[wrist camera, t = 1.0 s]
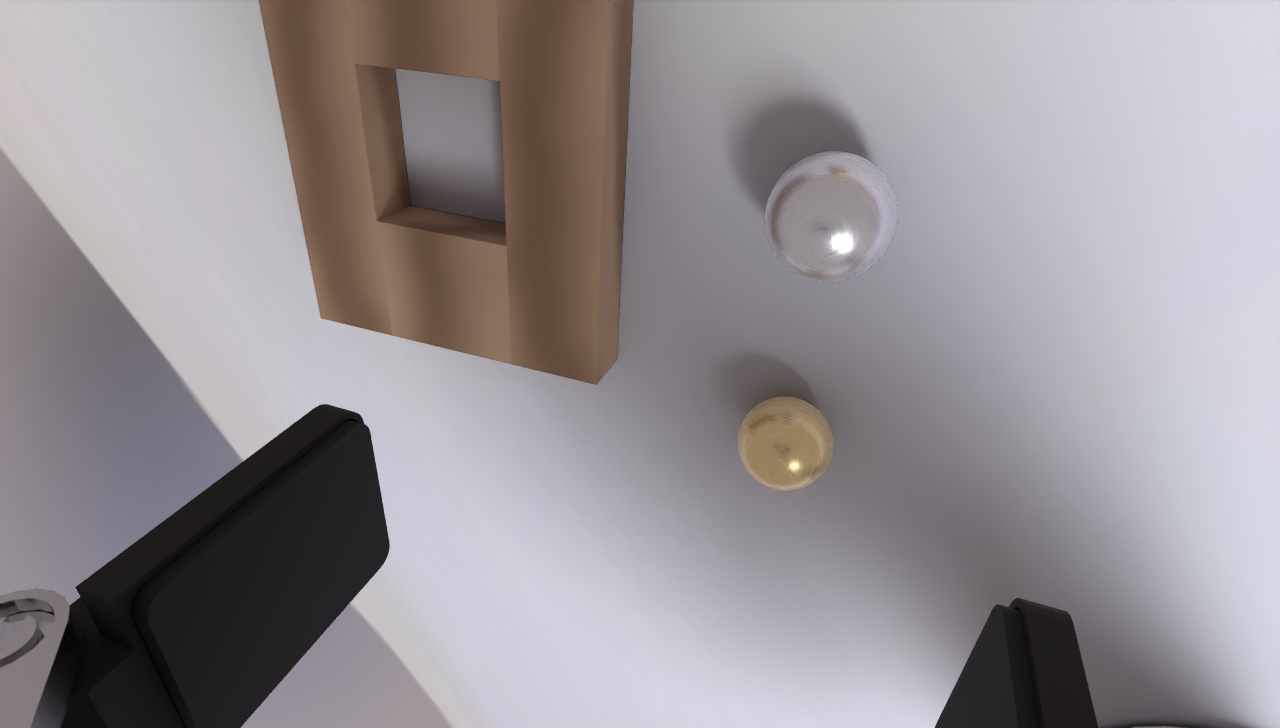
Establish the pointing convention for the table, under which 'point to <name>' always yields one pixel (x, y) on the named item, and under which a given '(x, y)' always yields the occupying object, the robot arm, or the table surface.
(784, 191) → the steel ball
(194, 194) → the table surface
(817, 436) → the brass ball
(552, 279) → the pocket plate
